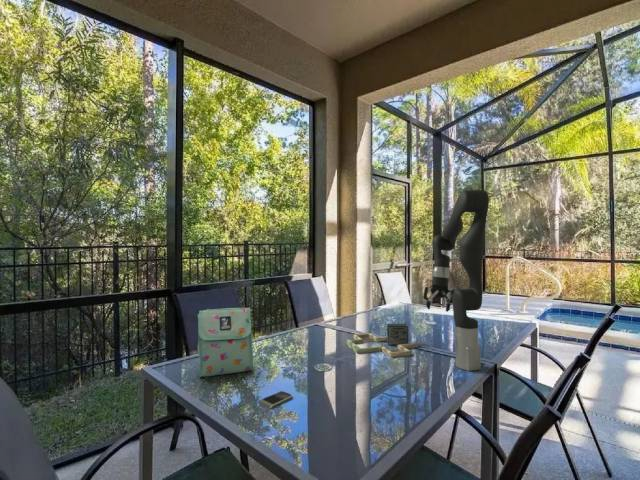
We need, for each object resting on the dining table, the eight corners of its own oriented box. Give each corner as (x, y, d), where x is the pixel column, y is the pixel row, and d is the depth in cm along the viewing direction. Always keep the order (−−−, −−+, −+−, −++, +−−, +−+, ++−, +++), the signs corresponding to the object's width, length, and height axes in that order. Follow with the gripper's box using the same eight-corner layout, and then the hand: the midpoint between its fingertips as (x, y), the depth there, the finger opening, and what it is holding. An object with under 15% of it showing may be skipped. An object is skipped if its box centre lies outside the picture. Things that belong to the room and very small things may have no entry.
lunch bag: (196, 380, 138) (195, 313, 138) (199, 366, 154) (198, 306, 154) (254, 373, 144) (253, 309, 145) (251, 361, 160) (250, 303, 160)
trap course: (429, 353, 167) (429, 347, 167) (365, 360, 158) (365, 353, 158) (393, 334, 203) (393, 329, 203) (339, 339, 194) (339, 334, 194)
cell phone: (294, 399, 121) (294, 395, 121) (269, 410, 112) (269, 406, 112) (282, 394, 125) (282, 390, 125) (257, 405, 116) (257, 400, 116)
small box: (406, 342, 186) (406, 323, 186) (408, 346, 179) (408, 325, 179) (387, 342, 187) (386, 323, 187) (388, 345, 180) (387, 325, 180)
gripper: (426, 274, 164) (423, 309, 163) (458, 278, 162) (455, 313, 161) (424, 274, 172) (421, 307, 170) (454, 278, 170) (451, 311, 168)
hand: (437, 310), depth 166 cm, fingers open, 8 cm apart
